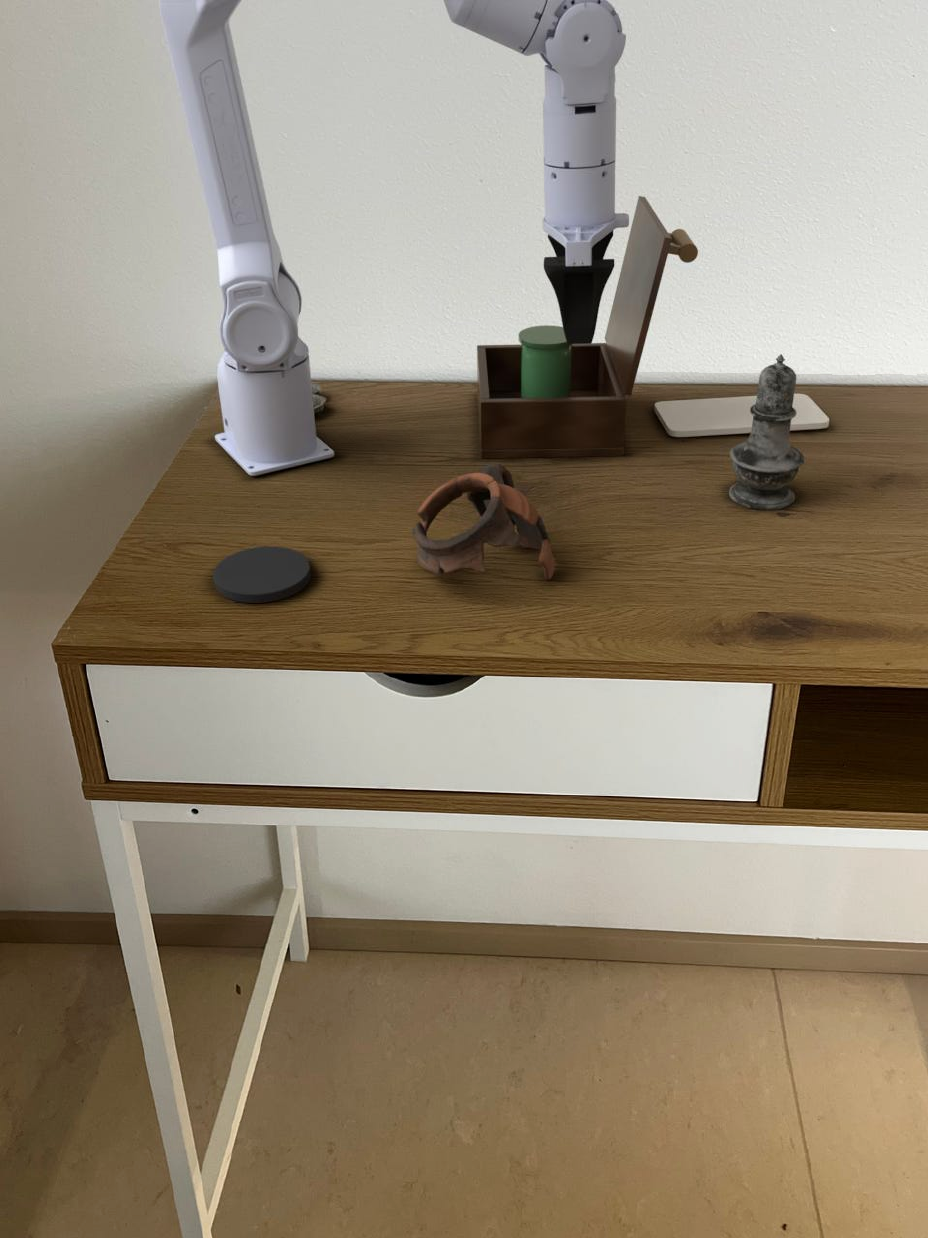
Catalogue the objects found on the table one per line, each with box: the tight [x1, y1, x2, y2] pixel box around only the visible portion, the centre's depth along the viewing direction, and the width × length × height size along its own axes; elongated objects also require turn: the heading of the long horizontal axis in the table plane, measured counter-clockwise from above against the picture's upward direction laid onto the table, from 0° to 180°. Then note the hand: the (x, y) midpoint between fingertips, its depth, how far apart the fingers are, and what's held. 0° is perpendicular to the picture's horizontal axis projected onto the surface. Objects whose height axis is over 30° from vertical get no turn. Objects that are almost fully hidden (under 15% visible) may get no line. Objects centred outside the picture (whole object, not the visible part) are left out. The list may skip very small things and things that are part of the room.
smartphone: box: [653, 393, 830, 438], centre depth 107 cm, size 7×1×15 cm
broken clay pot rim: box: [411, 462, 555, 581], centre depth 84 cm, size 12×10×8 cm
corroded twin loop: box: [311, 382, 327, 415], centre depth 111 cm, size 5×8×1 cm, turn 13°
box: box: [476, 342, 628, 459], centre depth 106 cm, size 13×15×5 cm
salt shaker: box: [728, 354, 805, 511], centre depth 91 cm, size 6×6×12 cm
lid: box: [604, 195, 699, 397], centre depth 101 cm, size 13×15×4 cm
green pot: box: [517, 325, 572, 398], centre depth 106 cm, size 5×5×8 cm
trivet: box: [213, 546, 312, 604], centre depth 84 cm, size 7×7×1 cm
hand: (580, 327), depth 99 cm, fingers open, 7 cm apart
